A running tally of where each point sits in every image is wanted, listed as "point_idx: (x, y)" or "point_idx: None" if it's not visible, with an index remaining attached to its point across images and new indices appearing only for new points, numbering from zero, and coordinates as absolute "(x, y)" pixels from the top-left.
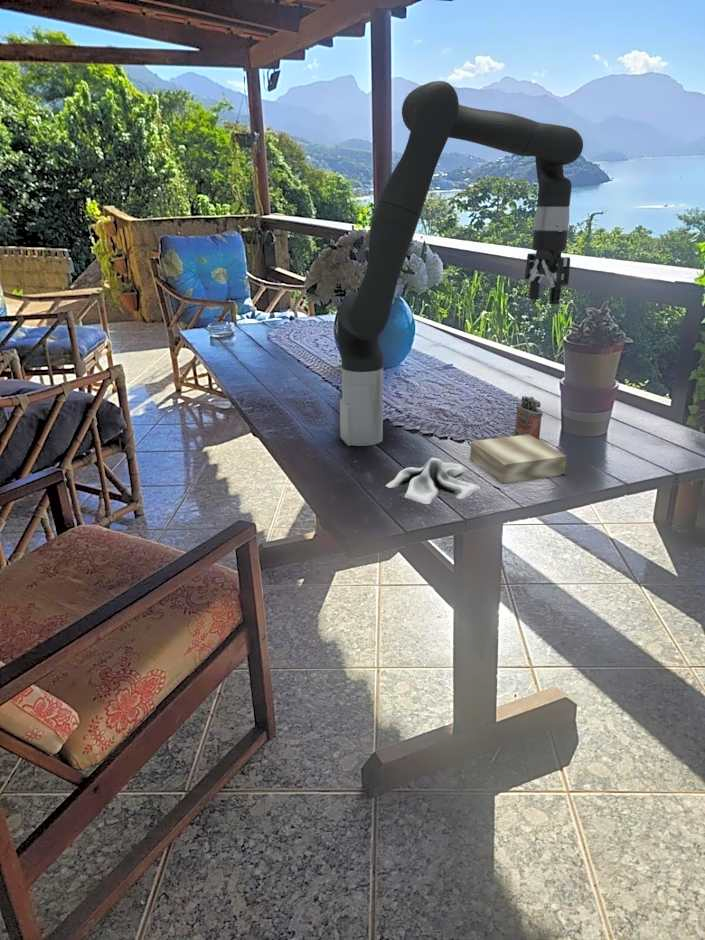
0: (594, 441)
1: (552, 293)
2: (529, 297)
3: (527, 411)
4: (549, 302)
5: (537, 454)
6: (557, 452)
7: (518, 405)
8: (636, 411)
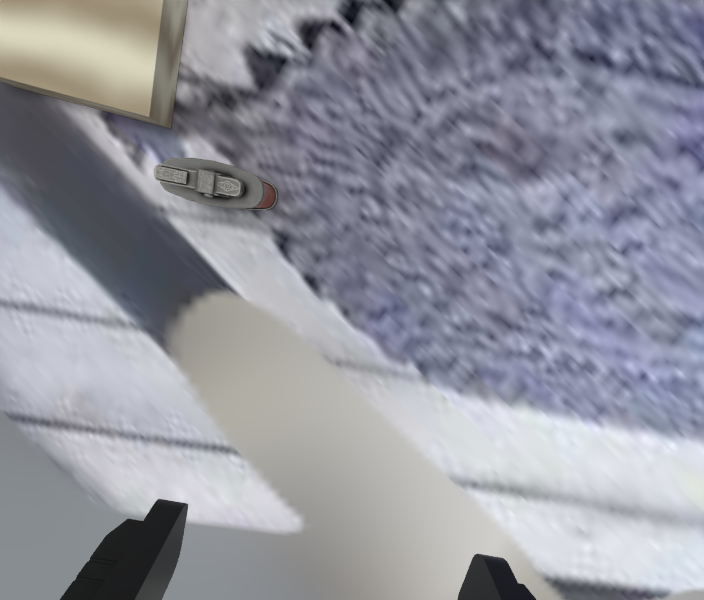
0: (154, 309)
1: (99, 595)
2: (502, 563)
3: (193, 158)
4: (177, 506)
5: (8, 9)
6: (2, 70)
7: (250, 178)
8: (260, 525)
